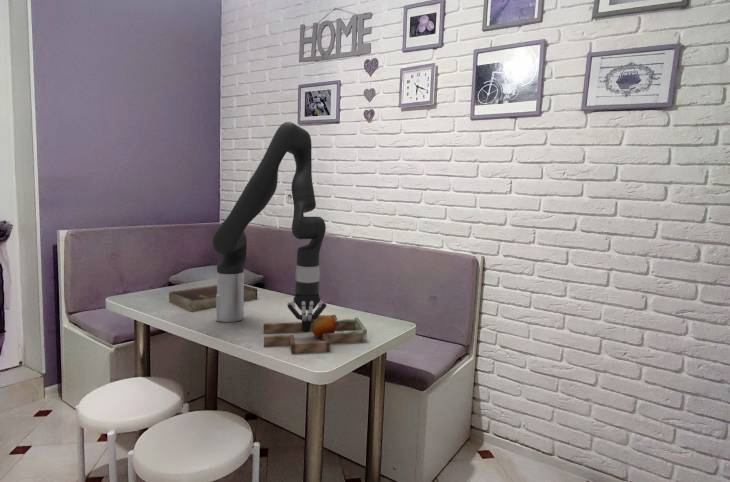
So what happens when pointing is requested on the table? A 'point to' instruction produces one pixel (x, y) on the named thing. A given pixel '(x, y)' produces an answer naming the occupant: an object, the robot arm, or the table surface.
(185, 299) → the latched wooden chest
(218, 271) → the robot arm
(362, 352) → the table surface
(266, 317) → the table surface
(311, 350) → the trap box
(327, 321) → the fruit
